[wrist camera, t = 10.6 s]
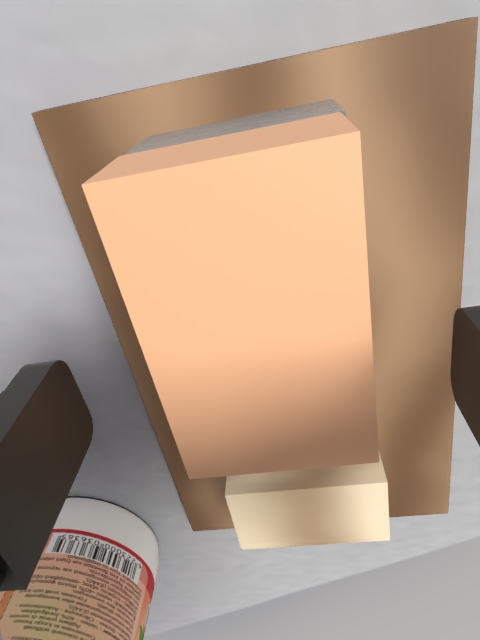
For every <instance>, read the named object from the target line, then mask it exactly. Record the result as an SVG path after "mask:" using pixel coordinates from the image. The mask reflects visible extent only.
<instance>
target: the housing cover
mask: <svg viewBox="0 0 480 640" xmlns="http://www.w3.org/2000/svg"><path fill="white" fill-rule="evenodd" d="M82 188H83V191H84V193H85V196H86V199H87V202H88V204H89V207H90V210H91V212H92V215H93V218H94V221H95V223H96V226H97V229H98V232H99V234H100V237H101V240H102V242H103V245H104V248H105V251H106V253H107V256H108V259H109V262H110V264H111V267H112V270H113V272H114V275H115V278H116V281H117V283H118V286H119V289H120V292H121V294H122V297H123V300H124V302H125V305H126V308H127V311H128V313H129V316H130V319H131V322H132V324H133V327H134V330H135V332H136V335H137V338H138V341H139V343H140V346H141V349H142V351H143V354H144V357H145V360H146V362H147V365H148V368H149V371H150V373H151V376H152V379H153V381H154V384H155V387H156V390H157V392H158V395H159V398H160V401H161V403H162V406H163V409H164V411H165V414H166V417H167V420H168V422H169V425H170V428H171V431H172V433H173V436H174V439H175V441H176V444H177V447H178V450H179V452H180V455H181V458H182V461H183V463H184V466H185V469H186V471H187V474H188V477H189V479H200V478H211V477H222V476H233V475H244V474H256V473H267V472H278V471H289V470H300V469H311V468H322V467H333V466H345V465H356V464H367V463H378V462H379V446H378V429H377V412H376V395H375V378H374V361H373V344H372V326H371V309H370V292H369V275H368V258H367V241H366V224H365V207H364V190H363V173H362V156H361V139H360V130H359V129H358V128H356V127H355V126H354V125H353V124H352V123H351V122H350V121H349V120H348V119H347V118H346V117H345V116H344V115H343V114H342V113H341V112H336V113H332V114H327V115H322V116H317V117H312V118H307V119H302V120H297V121H292V122H287V123H282V124H277V125H272V126H267V127H262V128H257V129H252V130H247V131H242V132H237V133H232V134H227V135H222V136H217V137H212V138H207V139H202V140H197V141H192V142H187V143H182V144H177V145H172V146H167V147H162V148H157V149H152V150H147V151H142V152H137V153H132V154H127V155H122V156H119V157H117V158H116V159H115V160H114V161H112V162H111V163H110V164H108V165H107V166H106V167H104V168H103V169H102V170H100V171H99V172H98V173H96V174H95V175H94V176H92V177H91V178H90V179H88V180H87V181H86V182H84V183H83V184H82Z"/></svg>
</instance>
